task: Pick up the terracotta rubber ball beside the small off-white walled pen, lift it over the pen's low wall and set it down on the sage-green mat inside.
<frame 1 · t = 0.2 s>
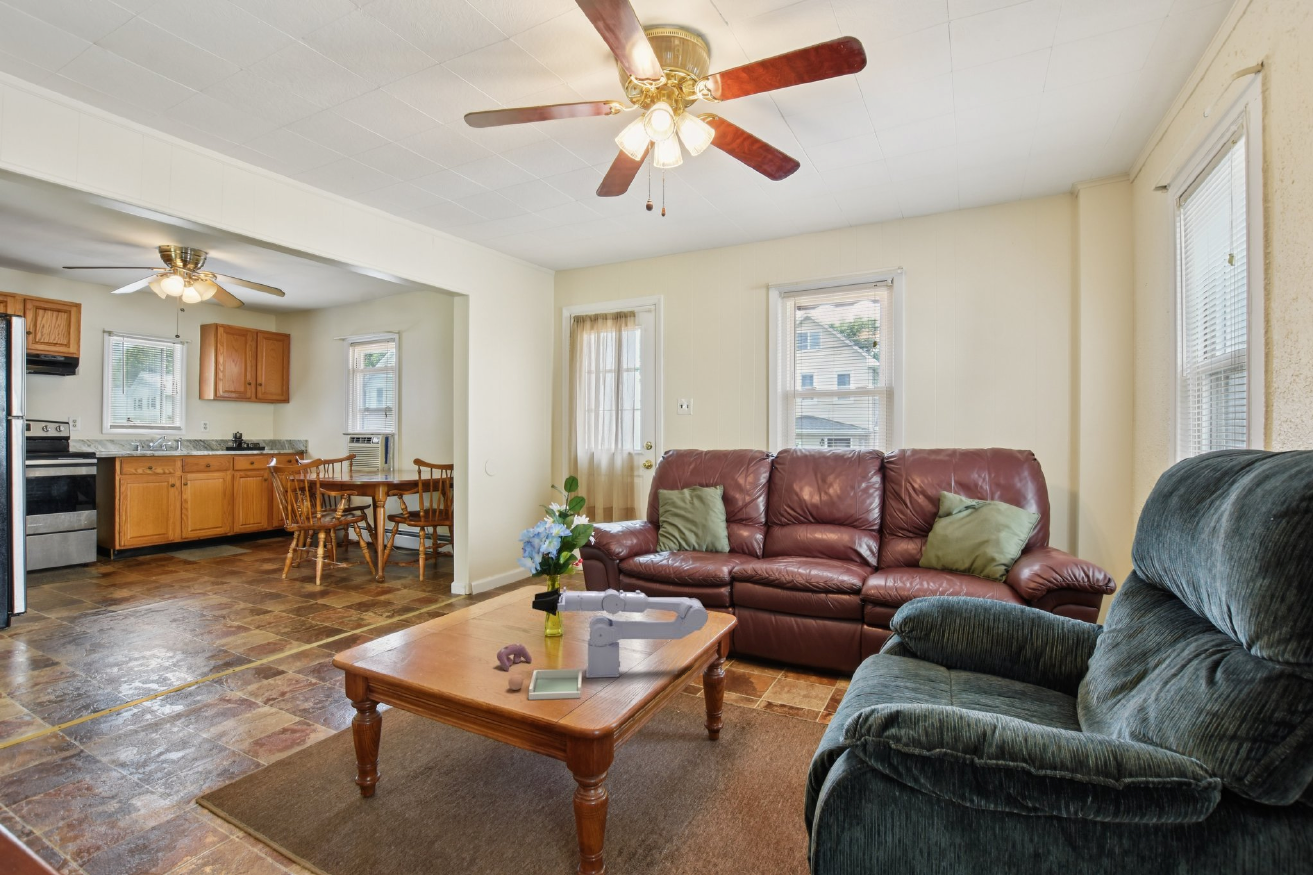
hand: (533, 601, 176), 21 cm above the table, tool horizontal, fingers open, 7 cm apart
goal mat: (556, 688, 168), resting in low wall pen
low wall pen: (556, 688, 168), on the table
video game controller: (514, 665, 184), on the table
ball: (515, 689, 167), on the table
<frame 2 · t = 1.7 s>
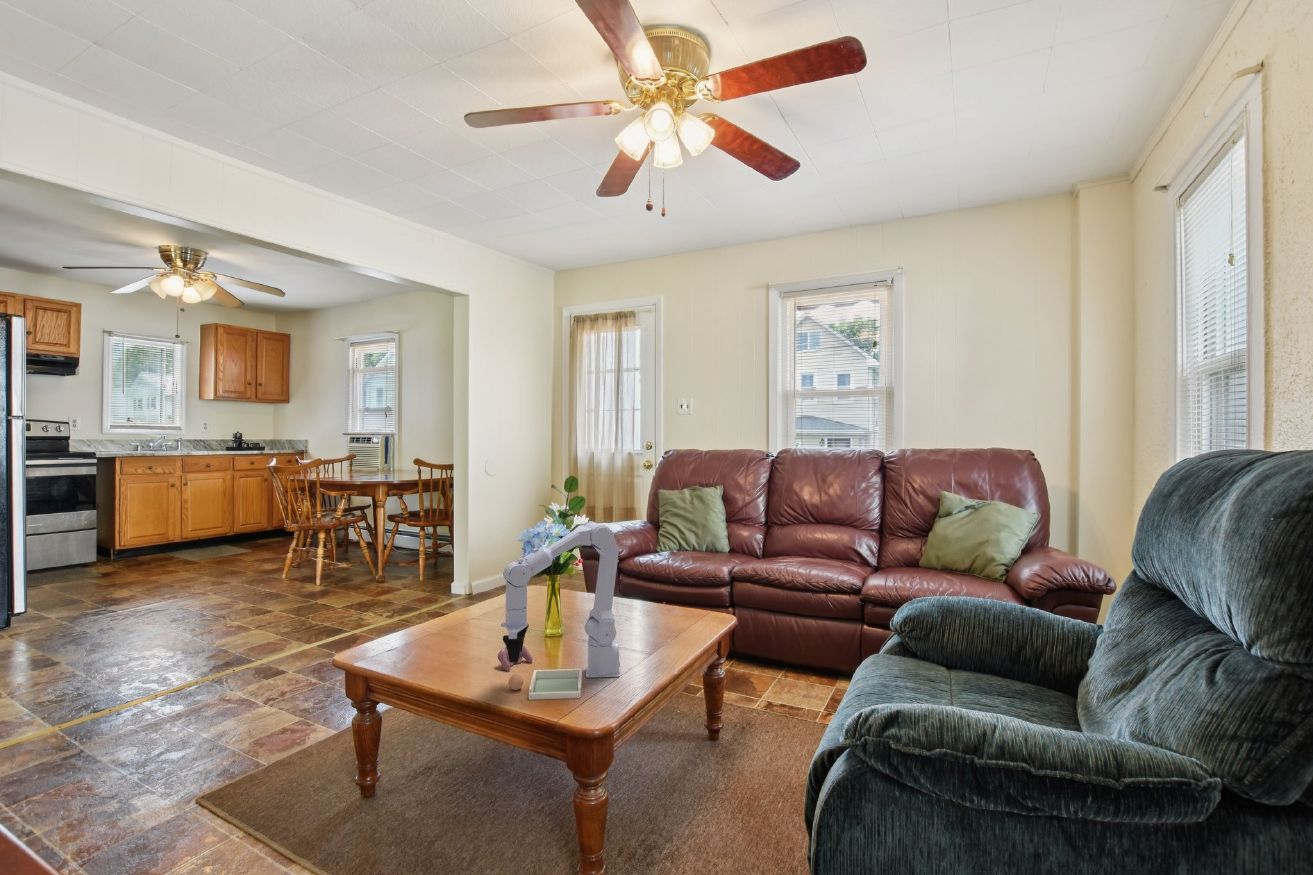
hand: (515, 656, 166), 9 cm above the table, tool pointing down, fingers open, 7 cm apart
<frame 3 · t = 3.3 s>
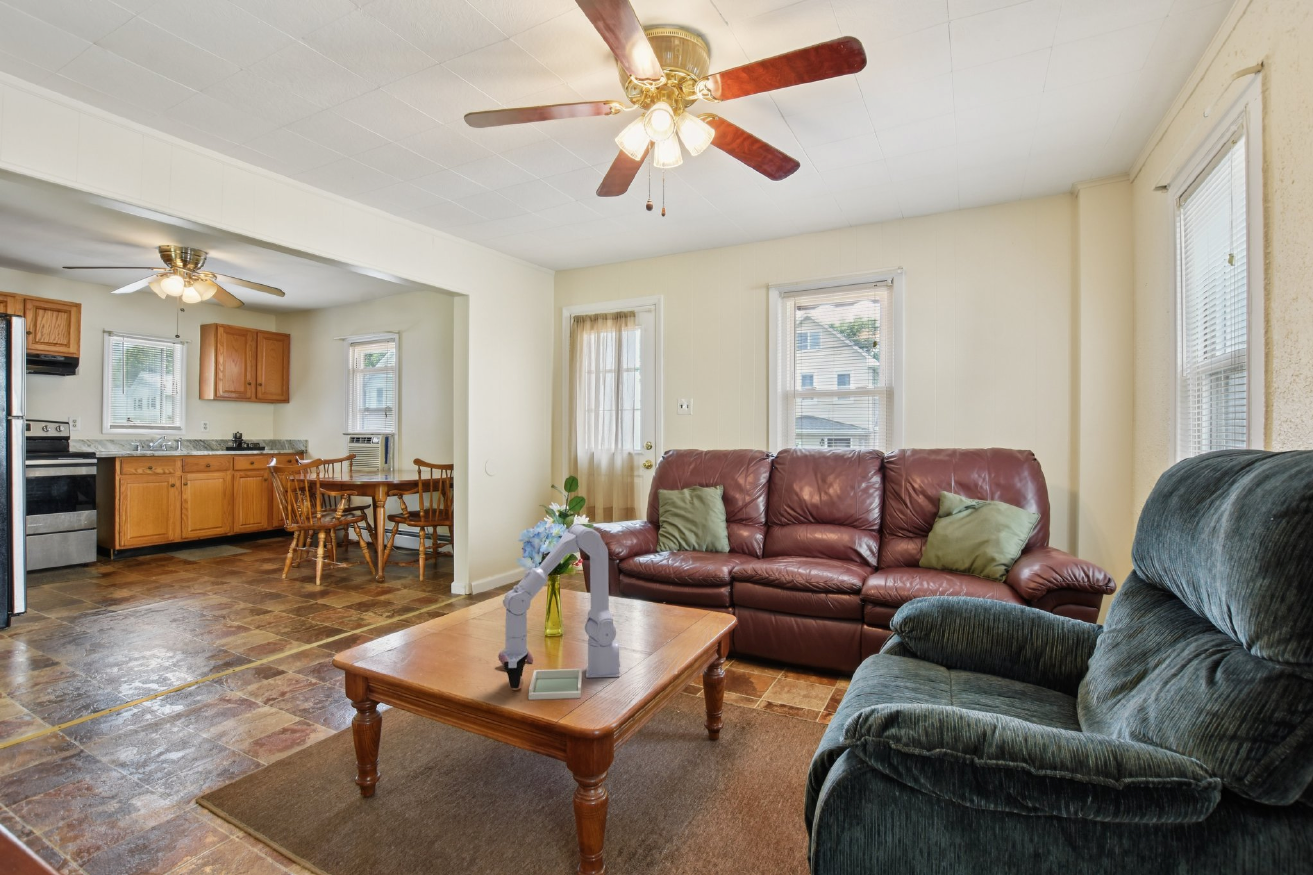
hand: (515, 684, 167), 1 cm above the table, tool pointing down, fingers closed on ball, 4 cm apart
ball: (515, 689, 167), on the table, touching gripper
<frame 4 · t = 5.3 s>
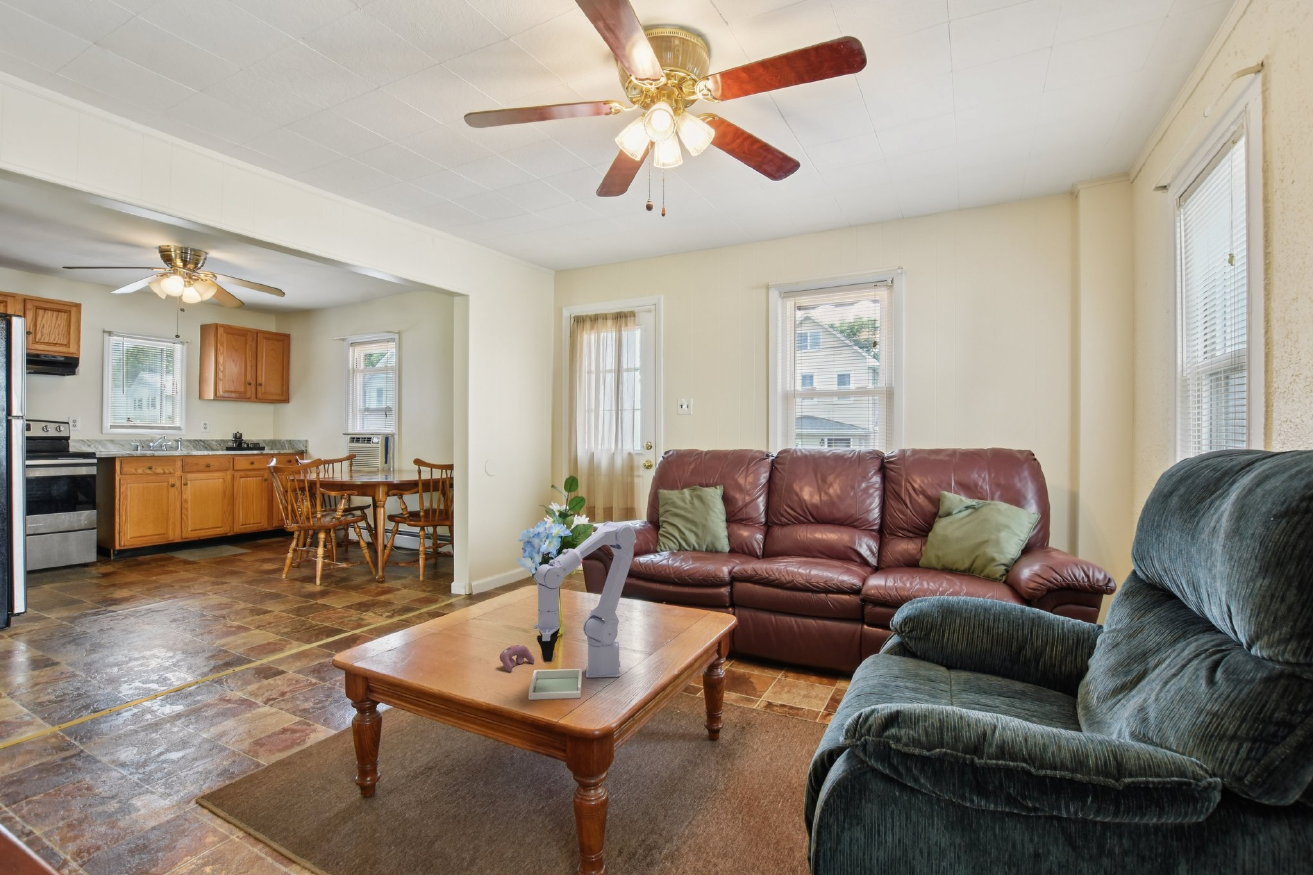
hand: (548, 658, 167), 8 cm above the table, tool pointing down, fingers closed on ball, 4 cm apart
ball: (548, 663, 167), point 7 cm above the table, touching gripper
when the fingers open (3 cm above the table, at t = 7.4 s): ball drops 1 cm, resting on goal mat.
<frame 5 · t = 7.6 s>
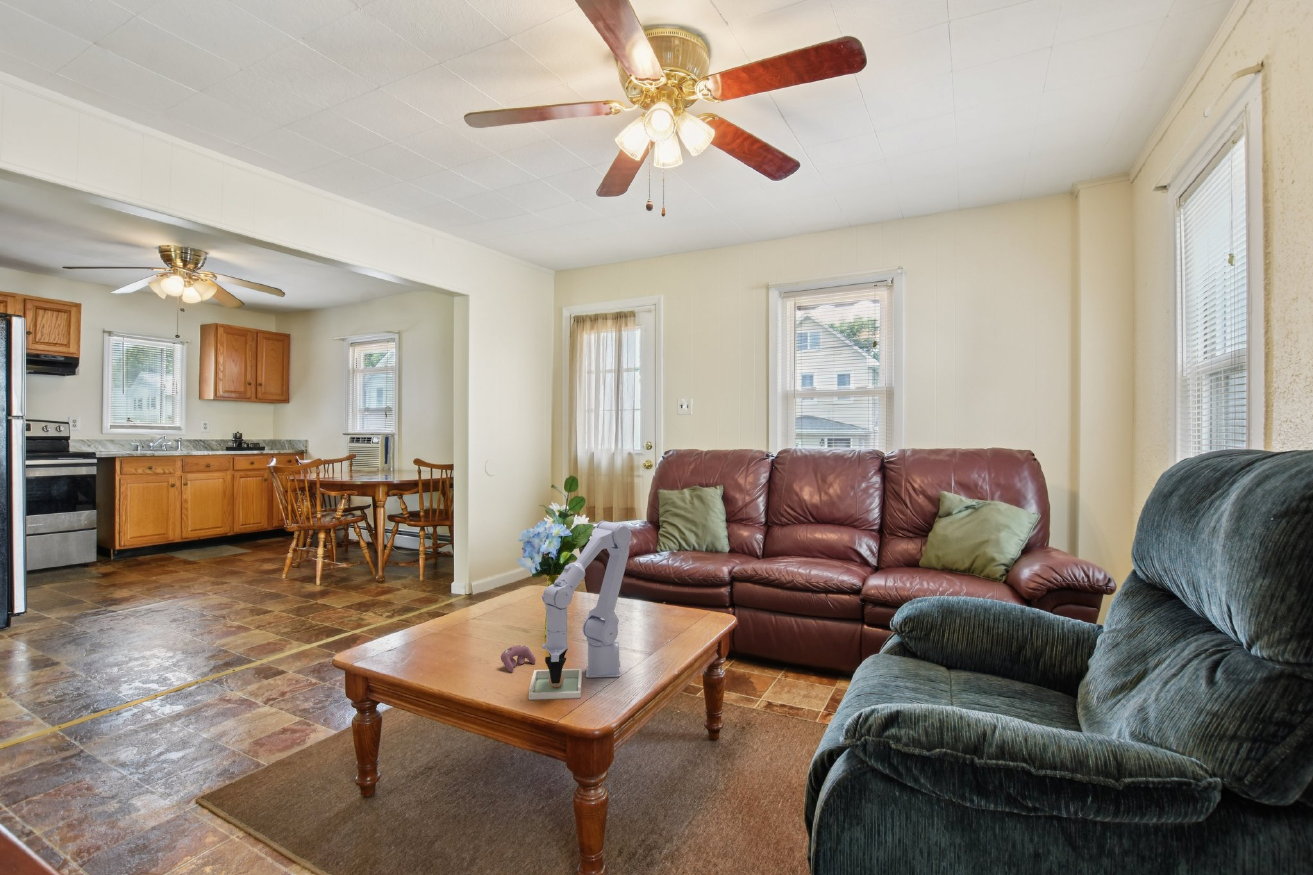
hand: (556, 678, 168), 3 cm above the table, tool pointing down, fingers open, 6 cm apart
ball: (556, 686, 168), resting on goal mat
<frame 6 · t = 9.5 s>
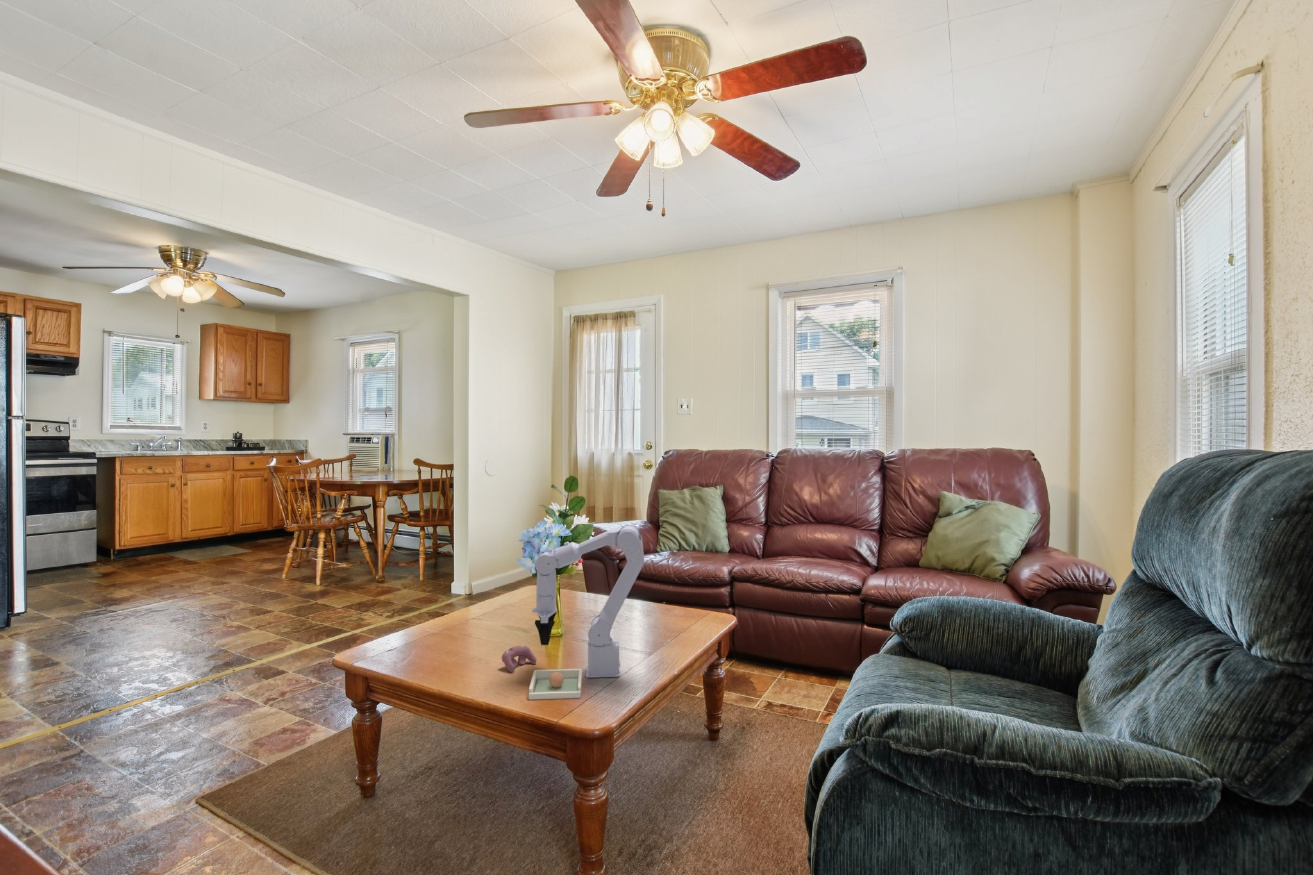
hand: (545, 640, 179), 9 cm above the table, tool pointing down, fingers open, 7 cm apart
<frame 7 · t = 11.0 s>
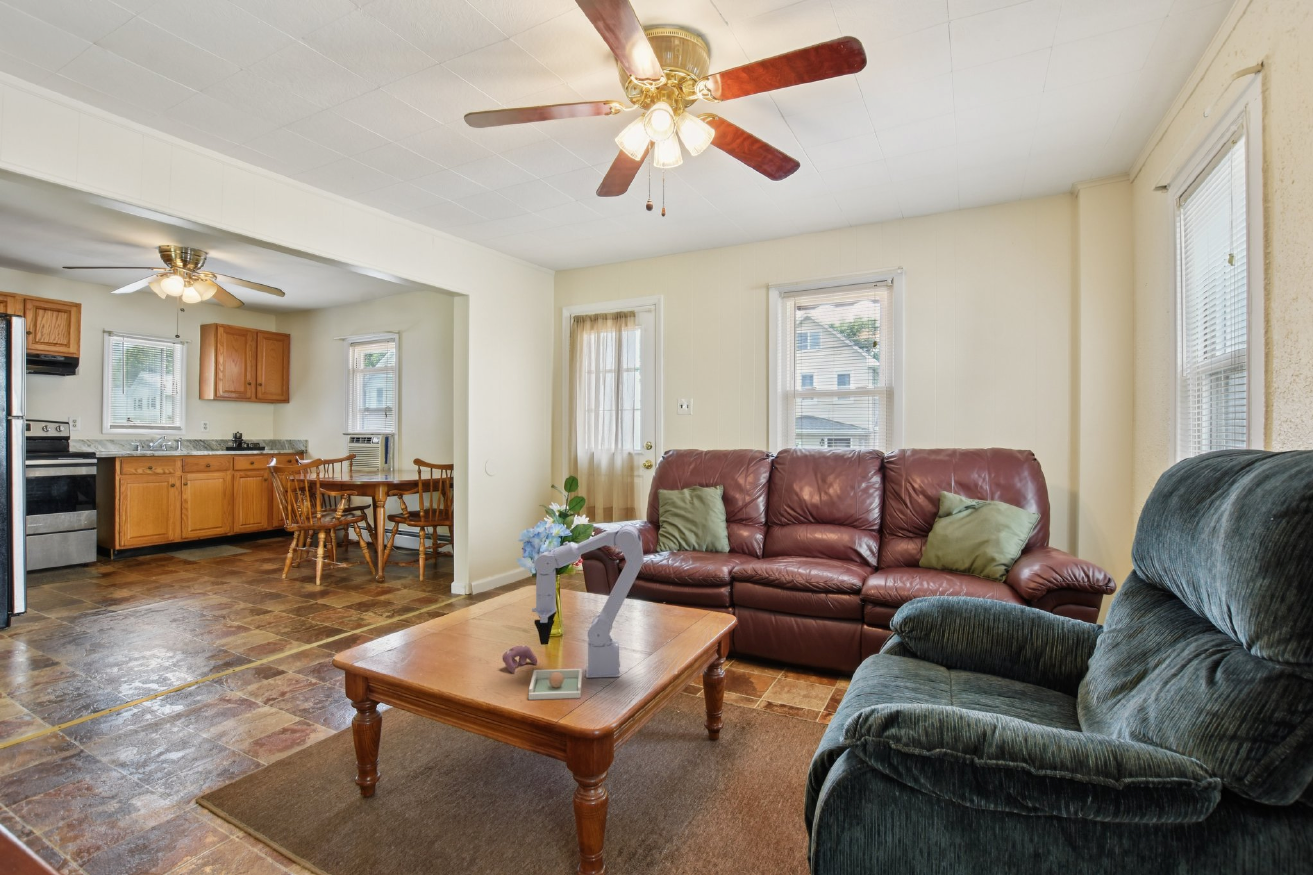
hand: (545, 639, 179), 9 cm above the table, tool pointing down, fingers open, 7 cm apart
at the end: ball inside the target area on the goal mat (0.0 cm from its centre), point 0.3 cm above the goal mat's base; the gripper is holding nothing; ball moved 11.0 cm from its start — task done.
